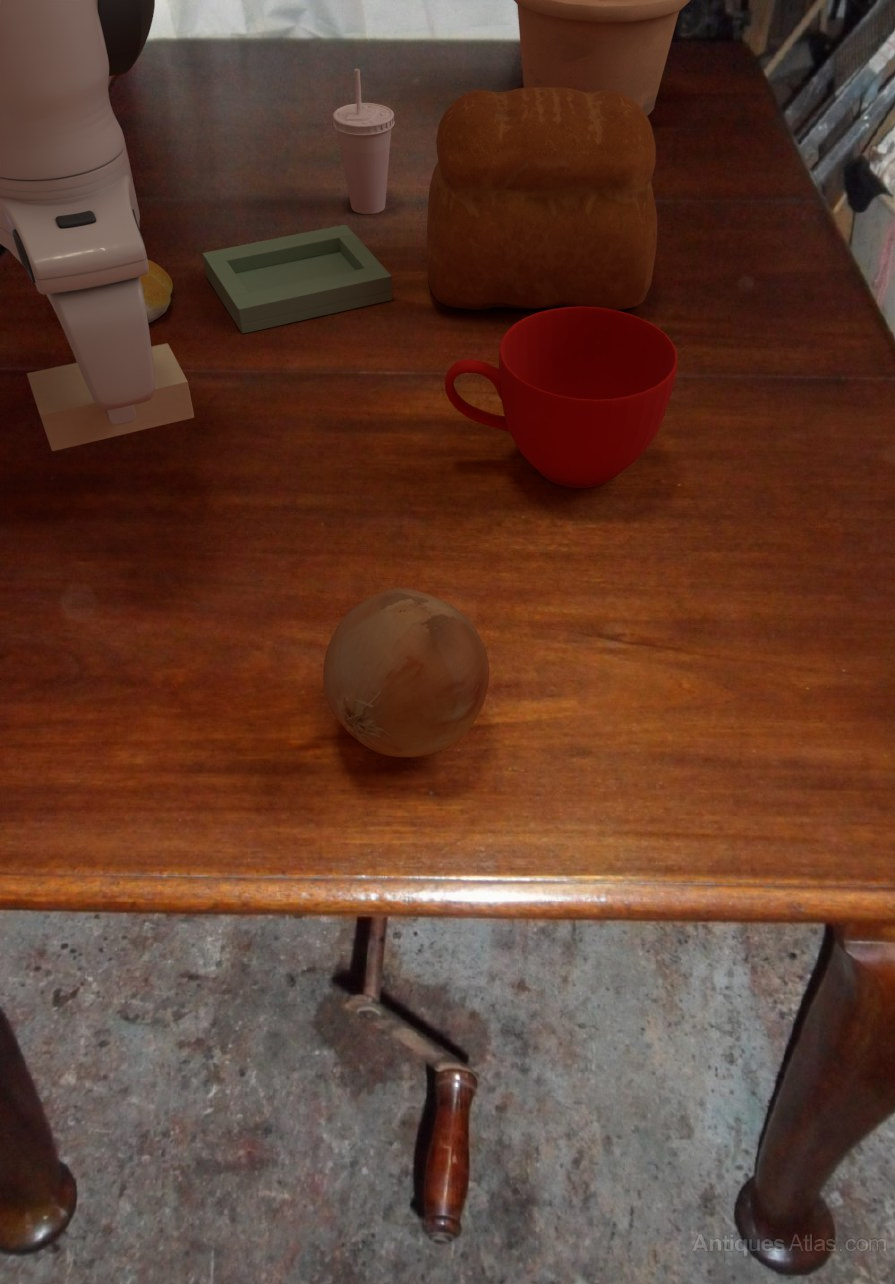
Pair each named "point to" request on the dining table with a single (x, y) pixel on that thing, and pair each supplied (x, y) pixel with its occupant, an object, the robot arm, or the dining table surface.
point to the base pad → (296, 278)
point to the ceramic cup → (577, 391)
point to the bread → (542, 201)
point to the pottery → (597, 45)
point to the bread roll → (156, 291)
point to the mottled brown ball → (406, 673)
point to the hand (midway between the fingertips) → (111, 393)
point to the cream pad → (82, 421)
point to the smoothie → (365, 150)
